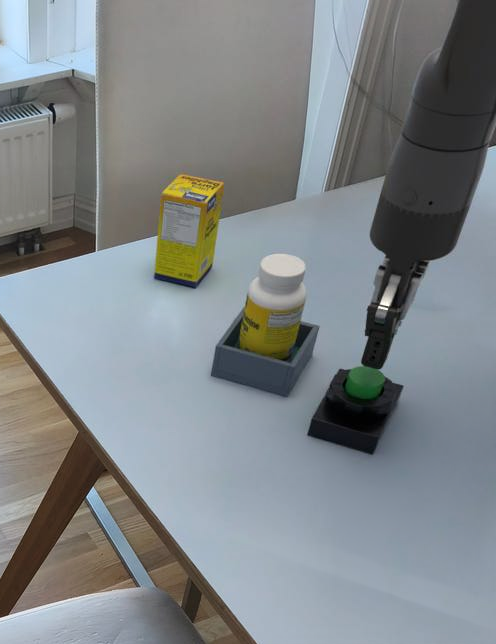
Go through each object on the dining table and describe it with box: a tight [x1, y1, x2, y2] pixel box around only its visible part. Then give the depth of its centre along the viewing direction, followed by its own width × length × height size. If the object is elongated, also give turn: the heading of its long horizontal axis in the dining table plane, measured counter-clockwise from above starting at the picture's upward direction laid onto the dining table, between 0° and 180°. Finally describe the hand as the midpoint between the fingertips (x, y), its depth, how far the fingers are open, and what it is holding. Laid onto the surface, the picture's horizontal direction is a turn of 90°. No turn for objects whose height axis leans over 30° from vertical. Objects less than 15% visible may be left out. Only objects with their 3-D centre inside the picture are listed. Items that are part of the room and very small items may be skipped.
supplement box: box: [153, 173, 225, 288], centre depth 110 cm, size 6×6×11 cm
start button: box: [345, 365, 386, 399], centre depth 91 cm, size 4×4×2 cm
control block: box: [306, 368, 404, 455], centre depth 93 cm, size 7×10×4 cm
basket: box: [210, 306, 321, 397], centre depth 100 cm, size 9×9×4 cm
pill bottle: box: [237, 253, 308, 362], centre depth 96 cm, size 6×6×11 cm
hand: (372, 363), depth 90 cm, fingers closed
